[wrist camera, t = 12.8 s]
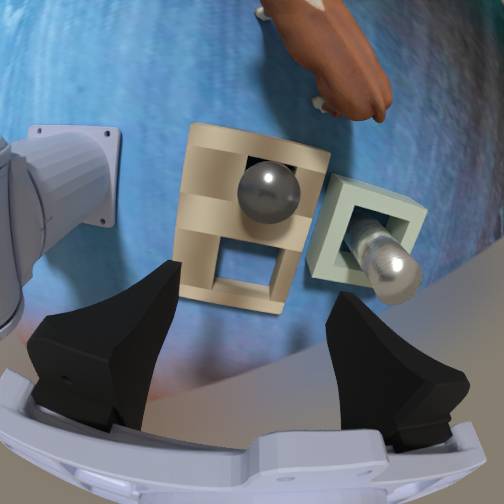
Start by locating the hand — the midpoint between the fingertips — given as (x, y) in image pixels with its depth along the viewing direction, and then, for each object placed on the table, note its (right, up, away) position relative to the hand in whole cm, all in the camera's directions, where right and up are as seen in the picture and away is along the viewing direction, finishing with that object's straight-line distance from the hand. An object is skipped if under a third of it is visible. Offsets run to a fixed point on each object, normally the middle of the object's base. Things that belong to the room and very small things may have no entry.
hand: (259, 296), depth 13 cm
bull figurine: (+3, +16, +3) cm, 17 cm away
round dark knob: (+1, +7, +7) cm, 10 cm away
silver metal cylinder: (+8, +4, +9) cm, 13 cm away
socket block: (0, +4, +9) cm, 10 cm away
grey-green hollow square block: (+8, +4, +9) cm, 13 cm away
